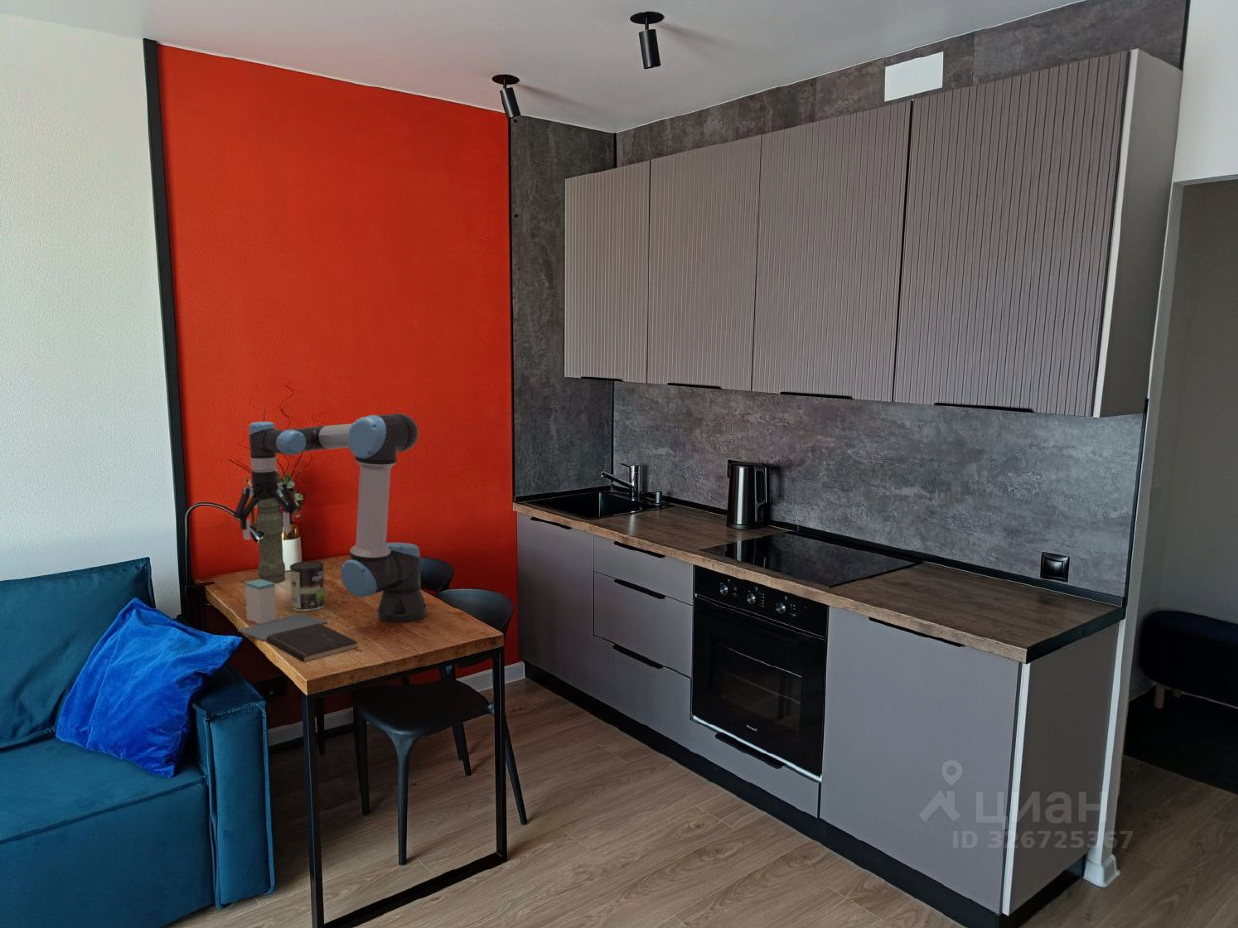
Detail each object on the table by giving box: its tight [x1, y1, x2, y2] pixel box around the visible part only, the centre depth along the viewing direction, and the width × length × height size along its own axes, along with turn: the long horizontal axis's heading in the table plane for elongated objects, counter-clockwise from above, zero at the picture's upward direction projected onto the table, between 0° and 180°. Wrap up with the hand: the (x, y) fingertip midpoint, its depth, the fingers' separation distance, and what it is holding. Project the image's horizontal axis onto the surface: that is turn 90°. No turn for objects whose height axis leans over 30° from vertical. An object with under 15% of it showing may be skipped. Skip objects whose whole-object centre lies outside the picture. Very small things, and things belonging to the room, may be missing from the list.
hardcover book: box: [266, 623, 359, 663], centre depth 242 cm, size 16×23×2 cm
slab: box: [244, 578, 277, 624], centre depth 262 cm, size 8×5×12 cm, turn 53°
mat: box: [237, 612, 328, 642], centre depth 257 cm, size 14×21×1 cm, turn 143°
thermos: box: [250, 489, 287, 584], centre depth 305 cm, size 9×12×35 cm
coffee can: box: [289, 560, 326, 612], centre depth 276 cm, size 10×10×14 cm
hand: (267, 535), depth 274 cm, fingers open, 13 cm apart
